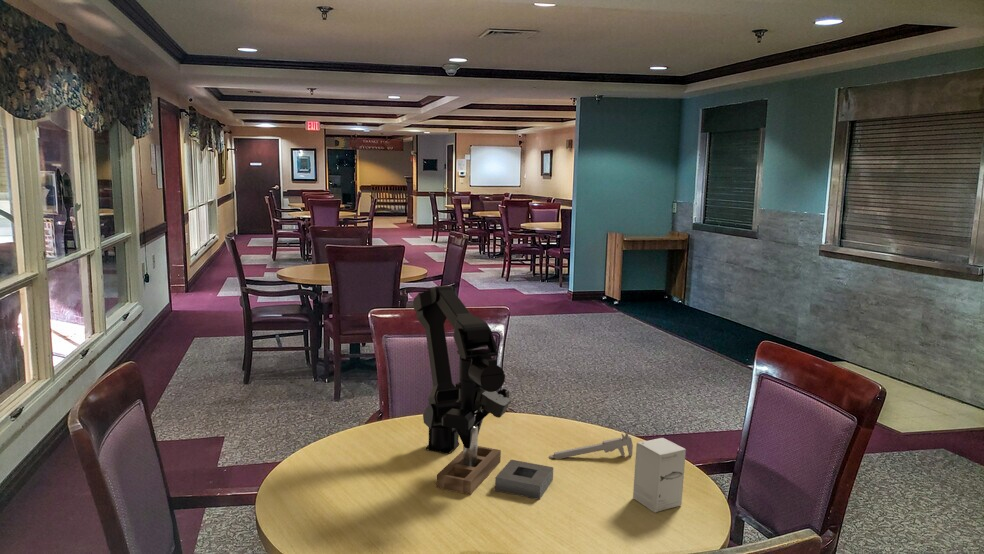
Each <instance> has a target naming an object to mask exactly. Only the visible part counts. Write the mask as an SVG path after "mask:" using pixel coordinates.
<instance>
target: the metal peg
mask: <svg viewBox="0 0 984 554" xmlns="http://www.w3.org/2000/svg"><path fill="white" fill-rule="evenodd" d="M478 441H479V434H478V425H476V426H474V427H473V433H472V439H471V445H470V448H469V449H468V448H465V447H464V445H463V444H462V447H463V449H462V451H463V465H466V466H471V467H475V466H477V450H478V446H479V445H478V443H479V442H478Z"/></svg>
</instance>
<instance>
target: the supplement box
mask: <svg viewBox="0 0 984 554" xmlns="http://www.w3.org/2000/svg"><path fill="white" fill-rule="evenodd" d="M635 449H636V450H635V464H634V474H633V475H634V477H633V489H632V490H633V491H632V498H633V500H635V501H637V502H638V503H640V504H641V505H643V506H644V507H645V508H647V509H648V510H650V511H651V512H653V513H655V514H656V513H658V512H662V511H665V510H669V509H672V508H676V507H680V506H682V504H683V493H684V478H685V476H684V475H685V465H686V454H687V449H686V448H685V447H682V446H681V445H679V444H676V443H674V442H673V441H671V440H668V439H666V438H664V437H658V438H654V439H650V440H644V441H639V442H636V448H635Z"/></svg>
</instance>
